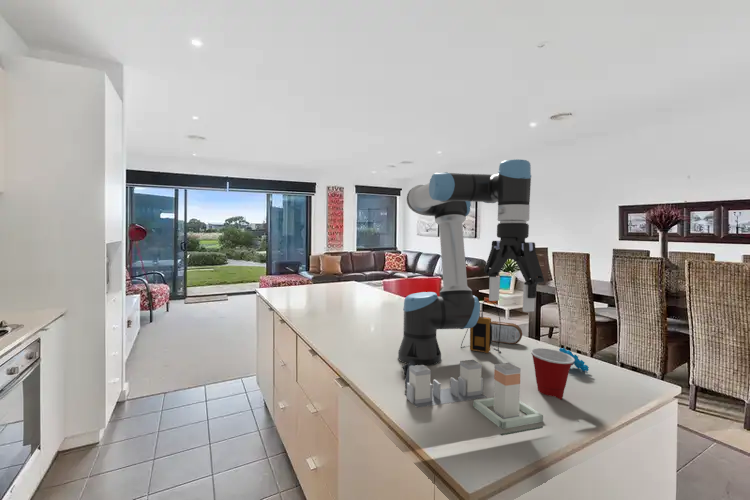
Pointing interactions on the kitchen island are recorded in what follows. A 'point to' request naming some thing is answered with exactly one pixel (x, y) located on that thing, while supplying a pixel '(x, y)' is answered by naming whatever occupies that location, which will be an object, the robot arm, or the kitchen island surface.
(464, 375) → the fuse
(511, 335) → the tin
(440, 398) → the block
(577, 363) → the blue knobby plastic piece
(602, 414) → the kitchen island surface
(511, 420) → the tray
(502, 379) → the block
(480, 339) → the multimeter
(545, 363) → the plastic cup
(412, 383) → the grey block
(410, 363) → the can opener
